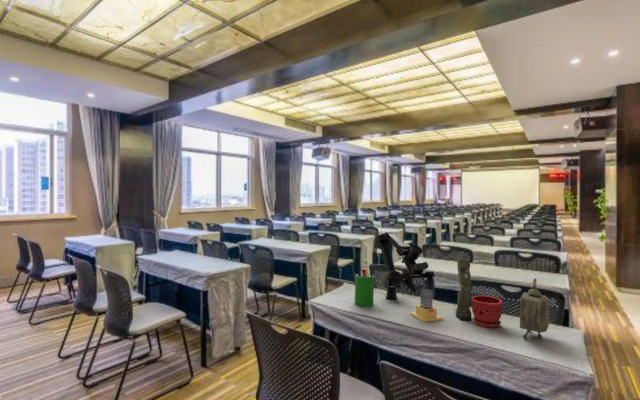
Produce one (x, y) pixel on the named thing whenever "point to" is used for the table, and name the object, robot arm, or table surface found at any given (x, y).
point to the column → (426, 298)
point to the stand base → (426, 314)
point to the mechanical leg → (464, 290)
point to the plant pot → (487, 310)
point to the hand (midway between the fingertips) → (423, 291)
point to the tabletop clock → (534, 311)
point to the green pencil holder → (364, 289)
